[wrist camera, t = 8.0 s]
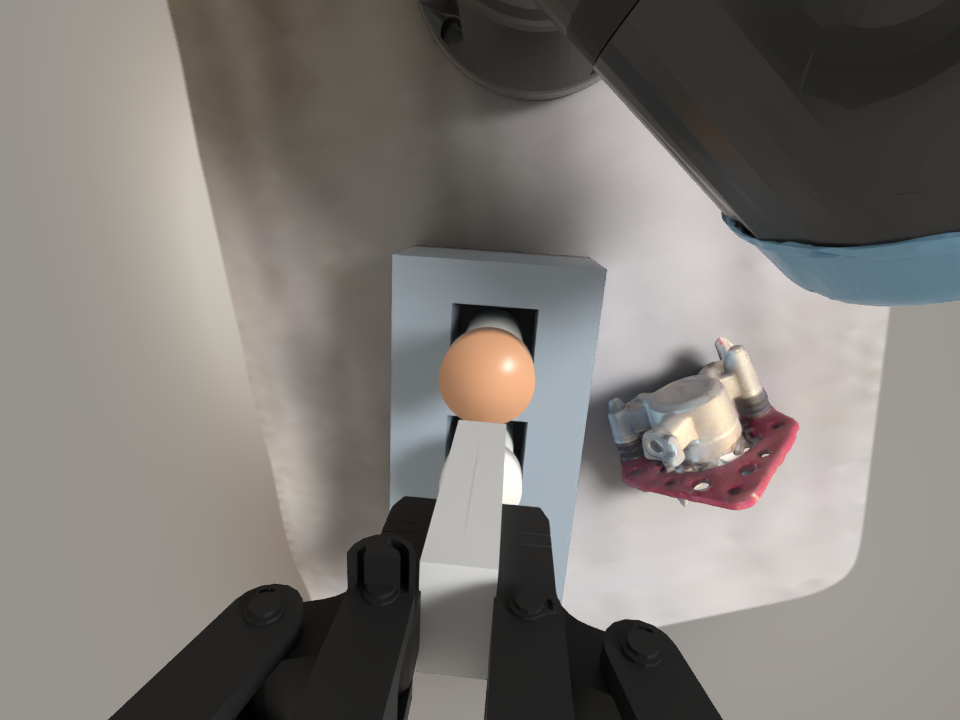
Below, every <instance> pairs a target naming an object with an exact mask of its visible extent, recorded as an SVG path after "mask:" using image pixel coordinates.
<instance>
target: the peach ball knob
mask: <svg viewBox="0 0 960 720" xmlns="http://www.w3.org/2000/svg"><path fill="white" fill-rule="evenodd" d="M439 388H440V392H441V395H442V397H443V399H444V401H445V403H446V405H447V406H448V407H449V408H450V410H451V411H452V412H453V413H454V414H455V415H457V416H458V417H460V418H461V419H463V420H467V421H478V422H490V423H501V424H504V423H507V422H509V421H511V420H513V419H514V418H516V417H517V416H519V415H520V414H521V413H522V412H523V411H524V410H525V409H526V408H527V406H528V404H529V403H530V401H531V399H532V397H533V393H534V389H535V372H534V363H533V359H532V356H531V354H530V352H529V350H528V348H527V347H526V345H525V344H524V343H523V336H522V329H521V326H520V324H519V322H518V320H517V319H516V318H515V317H514V316H513V315H512V314H511V313H509V312H507V311H505V310H502V309H497V308H492V309H486V310H483V311H481V312H479V313H478V314H477V315H475V316H474V317H473V318H472V320H471V321H470V323H469V325H468V328H467V330H466V333H464V334H462V335H461V336H460V337H458V338H457V339H456V340H455V341H454V342H453V343H452V345H451V346H450V348H449V349H448V351H447V353H446V355H445V357H444V360H443V362H442V364H441V367H440V371H439Z"/></svg>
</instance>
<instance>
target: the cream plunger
mask: <svg viewBox="0 0 960 720" xmlns="http://www.w3.org/2000/svg"><path fill="white" fill-rule="evenodd" d="M504 424H506V442H505V461H504V479H503V498H502V504H510V505H519V503H520V500H521V495H522V472H521V467H520V464H519V461H518V459H517V458H516V456H515V455H514V454H513V433H514V422H513V421H509V422H507V423H504ZM449 454H450V453H449ZM448 457H449V455H448V456H447V458H446V460H445V463H444V466H443V470H442V474H441V477H440V481H439V490H440V486H441V483H442V479H443V476H444V472H445V468H446V465H447V461H448Z"/></svg>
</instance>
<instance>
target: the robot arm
mask: <svg viewBox="0 0 960 720" xmlns="http://www.w3.org/2000/svg"><path fill="white" fill-rule="evenodd" d="M417 3H418V5H419V8H420V10H421V13H422V15H423V17H424V19H425V21H426V23H427V25H428V27H429V29H430V31H431V33H432V35H433V37H434V39H435V41H436V42H437V44H438V45H439V47H440V48H441V50H442V51H443V53H444V54H445V55H446V56H447V58H448V59H449V60H450V61H451V62H452V63H453V64H454V65H455V66H456V67H457V68H458V69H459V70H460V71H461V72H462V73H463V74H465V75H466V76H467V77H468V78H470V79H471V80H472V81H474V82H475V83H477V84H479V85H480V86H482V87H484V88H486V89H488V90H490V91H492V92H495V93H498V94H500V95H503V96H507V97H511V98H516V99H523V100H547V99H554V98H559V97H563V96H567V95H570V94H573V93H576V92H578V91H581V90H583V89H585V88H587V87H589V86H591V85H593V84H594V83H596V82H598V81H599V80H601V79H603V80H604V82H605V83H606V84H607V85H608V86H609V87H610V88H611V89H612V90H613V92H614V93H615V94H616V95H617V96H618V97H619V98H620V99H621V100H622V101H623V103H624V104H625V105H626V106H627V107H628V108H629V109H630V110H631V111H632V113H633V114H634V115H635V116H636V117H637V118H638V119H639V120H640V121H641V123H642V124H643V125H644V126H645V127H646V128H647V129H648V130H649V131H650V133H651V134H652V135H653V136H654V137H655V138H656V139H657V140H658V141H659V142H660V144H661V145H662V146H663V147H664V148H665V149H666V150H667V151H668V152H669V154H670V155H671V156H672V157H673V158H674V159H675V160H676V161H677V162H678V164H679V165H680V166H681V167H682V168H683V169H684V170H685V171H686V172H687V174H688V175H689V176H690V177H691V178H692V179H693V180H694V181H695V182H696V183H697V185H698V186H699V187H700V188H701V189H702V190H703V191H704V192H705V193H706V195H707V196H708V197H709V198H710V199H711V200H712V201H713V202H714V203H715V205H716V206H717V207H718V208H719V209H720V210H721V212H722V219H723V221H724V222H725V223H726V224H727V226H728V227H729V228H730V229H731V230H732V231H733V232H734V233H735V234H736V235H737V236H739V237H740V238H742V239H744V240H745V241H747V242H749V243H751V244H753V245H755V246H756V247H757V248H758V249H759V250H760V251H761V252H762V253H763V254H764V255H765V256H766V257H767V258H768V259H769V260H770V261H771V262H772V263H773V264H774V265H775V266H776V267H777V268H778V269H779V270H780V271H781V272H782V273H783V274H784V275H785V276H787V277H788V278H789V279H790V280H791V281H793V282H794V283H795V284H797V285H799V286H800V287H802V288H804V289H805V290H808V291H811V292H816V293H818V294H821V295H823V296H826V297H828V298H830V299H833V300H838V301H841V302H845V303H850V304H859V305H870V306H914V305H927V304H936V303H944V302H950V301H956V300H960V0H417ZM505 442H506V424H501V423H490V422H478V421H467V420H459V421H458V425H457V428H456V432H455V436H454V439H453V443H452V446H451V450H450V454H449V457H448V461H447V465H446V468H445V472H444V476H443V479H442V483H441V486H440V490H439V494H438V497H437V499H433V498H422V497H412V496H404V497H403V498H401V499H400V500H399V501H398V502H397V503H396V504H394V505H393V506H392V508H391V510H390V513H389V515H388V517H387V521H386V522H385V525H384V527H383V529H382V533H381V534H380V535H374V536H370V537H367V538H364V539H362V540H360V541H359V542H357V543H355V544H354V545H353V546H352V547H351V548H350V550H349V551H348V552H347V575H348V589H347V591H346V592H344V593H342V594H340V595H337V596H335V597H330V598H326V599H321V600H314V601H307V602H303V599H302V597H301V596H300V594H299V592H298V591H297V590H295V589H294V588H292V587H290V586H288V585H281V584H271V585H264V586H260V587H257V588H255V589H252V590H250V591H247V592H246V593H244V594H243V595H242V596H240V597H239V598H237V599H236V600H235V601H234V602H233V603H232V604H230V605H229V606H228V607H227V608H226V609H225V610H224V611H223V612H222V613H221V614H220V615H219V616H218V617H217V618H216V619H215V620H213V621H212V622H211V623H210V624H209V625H208V626H207V627H206V628H205V629H204V630H203V631H202V632H201V633H200V634H199V635H198V636H196V637H195V638H194V639H193V640H192V641H191V642H190V643H189V644H188V645H187V646H186V647H185V648H184V649H183V650H182V651H181V652H180V653H179V654H177V655H176V656H175V657H174V658H173V659H172V660H171V661H170V662H169V663H168V664H167V665H166V666H165V667H164V668H163V669H161V670H160V671H159V672H158V673H157V674H156V675H155V676H154V677H153V678H152V679H151V680H150V681H149V682H148V683H147V684H146V685H144V686H143V687H142V688H141V689H140V690H139V691H138V692H137V693H136V694H135V695H134V696H133V697H132V698H131V699H130V700H128V701H127V702H126V703H125V704H124V705H123V706H122V707H121V708H120V709H119V710H118V711H117V712H116V713H115V714H114V715H113V716H111V717H110V718H109V719H108V720H407V719H408V714H409V709H410V705H411V700H412V680H413V674H414V669H415V665H416V660H417V669H416V671H417V672H423V673H432V674H440V675H450V676H458V677H466V678H476V679H485V680H487V691H486V703H485V714H484V720H723V719H722V718H721V716H720V714H719V713H718V712H717V710H716V708H715V707H714V705H713V704H712V702H711V700H710V699H709V697H708V695H707V694H706V692H705V691H704V689H703V687H702V686H701V684H700V683H699V681H698V680H697V678H696V676H695V675H694V673H693V672H692V670H691V668H690V667H689V665H688V664H687V662H686V661H685V659H684V657H683V656H682V654H681V653H680V651H679V650H678V648H677V646H676V645H675V644H674V643H673V641H672V640H671V639H670V638H669V637H668V636H667V635H666V634H665V633H664V632H662V631H661V630H659V629H658V628H656V627H655V626H653V625H651V624H648V623H645V622H642V621H640V620H628V619H625V620H621V621H617V622H614V623H613V624H612V625H611V626H610V627H608V628H607V629H606V632H605V631H602V630H599V629H597V628H594V627H592V626H589V625H587V624H585V623H583V622H580V621H578V620H577V619H576V618H574V617H573V616H571V615H570V614H569V613H568V612H567V611H566V610H565V609H564V608H563V607H562V605H561V603H560V600H559V599H558V597H557V593H556V585H555V574H554V564H553V554H552V544H551V537H550V535H551V533H550V523H549V519H548V518H547V516H546V515H545V514H544V512H543V511H542V509H541V508H540V507H531V506H521V505H510V504H502V498H503V479H504V461H505Z"/></svg>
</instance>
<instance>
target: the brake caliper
mask: <svg viewBox="0 0 960 720" xmlns="http://www.w3.org/2000/svg"><path fill="white" fill-rule="evenodd" d="M715 346H716V348H717V351H718V353H719V357H720V359H721V360H720V361H717V362H712V363H709V364H707V365H706V366H704V367H703V368H702V369H701V371H700V372H699V373H698V375H693V376H689V377H685V378H682V379H679V380H676V381H673V382H671V383H669V384H667V385H666V386H664V387H662V388H660V389H658V390H657V391H655V392H654V393H640V394H639V395H637V396H636V397H635V398H634V399H633V400H631V401H629V402H627V403H624V402H623V401H622V400H621V399H620V398H618V397H614V398H612V399H611V400H610V401H609V403H608V419H609V422H610V425H611V428H612V434H613V438H614V441H615V443H616V445H617V447H618V449H619V453H620V459H621V464H622V480H623V482H624V483H625V484H626V485H628V486H630V487H635V488H637V489H639V490H642V491H643V492H649V491H650V492H654V493H659V494H663V495H667V496H670V497H674V498H677V499H678V500H679V501H680V503H681V504H682V505H683V506H687V505H688V504H689V501H692V502H699V503H704V504H708V505H712V506H717V507H721V508H726V509H730V510H742V509H746V508H749V507H752V506H753V505H754V504H755V503H756V502H757V501H758V500H759V499H760V497H761V496H762V494H763V492H764V490H765V489H766V487H767V485H768V483H769V481H770V480H771V477H772V476H773V474H774V473H775V471H776V469H777V467H779V466H780V465H781V464H782V462H783V461H784V458H785V456H786V454H787V453H788V451H789V450H790V449H791V447H792V445H793V444H794V442H795V439H796V434H797V431H798V430H799V425H798V423H797V422H796V421H795V420H794V419H792V418H790V417H788V416H786V415H784V414H782V413H780V412H778V411H776V410H775V409H774V408H773V407H772V406H771V405H770V403H769V401H768V396H767V393H766V391H765V390H764V388H763V386H762V384H761V382H760V380H759V378H758V375H757V372H756V370H755V368H754V366H753V363H752V361H751V358H750V356H749V354H748V352H747V350H746V348H745V347H744V346H743V345H735V346H733V345H732V344H731V343H729V342H728V341H727V340H726V338H724V337H720V338H718V339H717V340H716V342H715ZM745 448H750V449H749V450H748V451H746V452H745V453H743V451H744V449H745ZM763 454H770V455H768V456H765V457H761V456H762V455H763ZM707 483H708V484H709V486H708V487H707V488H705V489H702V490H695V489H697V488H699V487H700V486H701V485H704V484H707Z"/></svg>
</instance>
